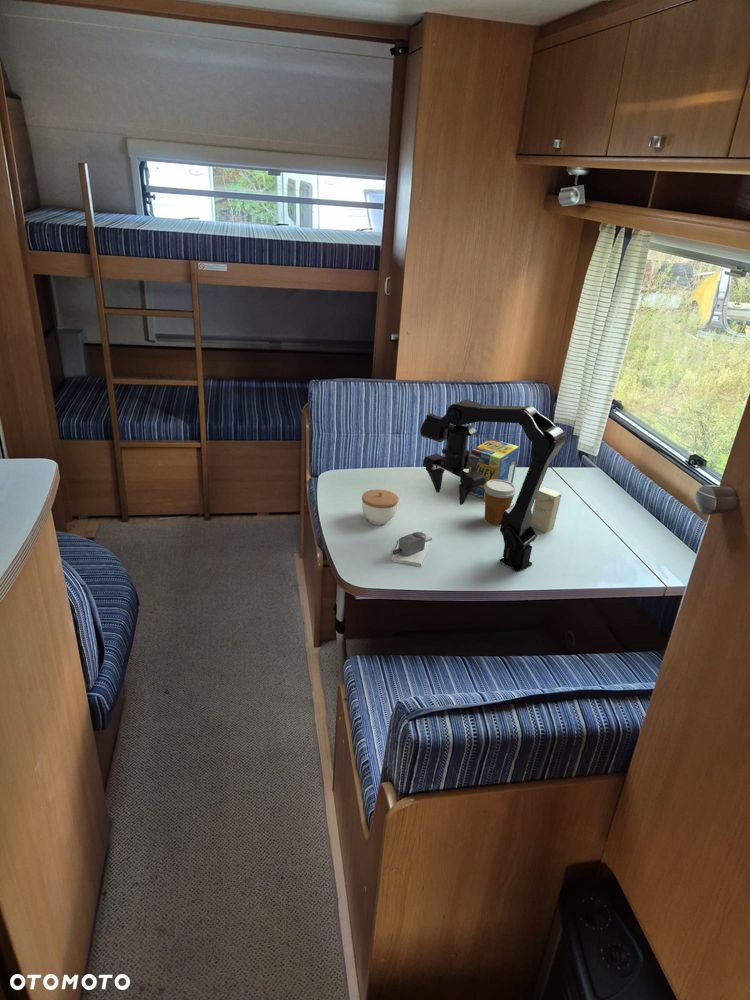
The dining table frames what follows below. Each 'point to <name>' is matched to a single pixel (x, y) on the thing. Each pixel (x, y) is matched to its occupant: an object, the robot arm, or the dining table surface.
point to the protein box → (494, 463)
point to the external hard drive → (411, 557)
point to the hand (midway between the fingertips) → (449, 498)
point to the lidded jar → (379, 506)
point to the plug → (412, 544)
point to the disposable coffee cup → (497, 499)
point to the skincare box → (545, 509)
